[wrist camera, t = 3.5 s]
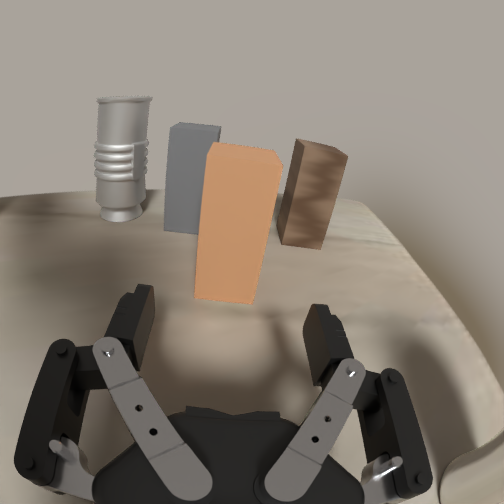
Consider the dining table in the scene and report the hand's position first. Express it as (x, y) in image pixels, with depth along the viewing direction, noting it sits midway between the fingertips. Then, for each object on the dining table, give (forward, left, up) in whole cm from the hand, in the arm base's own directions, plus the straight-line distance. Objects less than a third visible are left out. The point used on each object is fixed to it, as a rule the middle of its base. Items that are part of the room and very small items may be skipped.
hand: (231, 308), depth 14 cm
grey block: (-10, +19, -7) cm, 23 cm away
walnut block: (+3, +23, -7) cm, 24 cm away
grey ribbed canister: (-20, +18, -7) cm, 27 cm away
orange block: (-3, +10, -7) cm, 12 cm away
